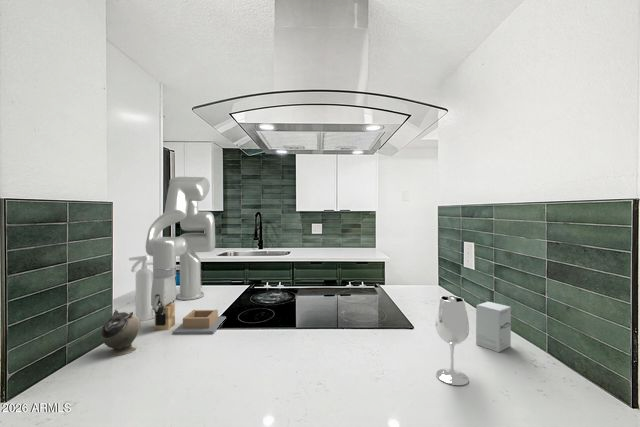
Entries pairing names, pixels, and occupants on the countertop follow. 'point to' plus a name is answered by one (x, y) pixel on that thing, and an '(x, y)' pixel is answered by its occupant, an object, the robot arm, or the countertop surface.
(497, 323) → the supplement box
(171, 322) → the oak block
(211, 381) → the countertop surface
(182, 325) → the base board
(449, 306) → the wineglass
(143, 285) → the fire extinguisher
